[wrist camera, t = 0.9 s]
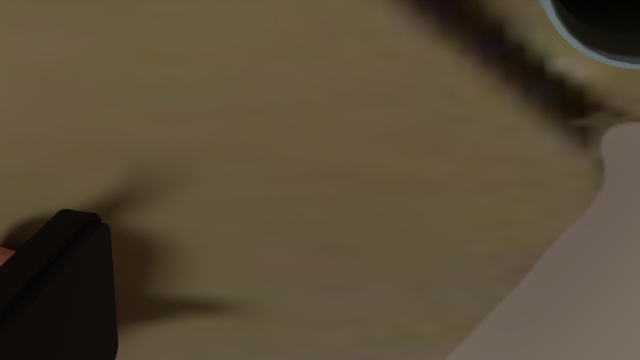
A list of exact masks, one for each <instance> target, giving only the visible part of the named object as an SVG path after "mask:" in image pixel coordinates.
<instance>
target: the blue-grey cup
mask: <svg viewBox="0 0 640 360" xmlns="http://www.w3.org/2000/svg"><path fill="white" fill-rule="evenodd" d="M539 2H540V3H541V6H542V8H543V9H544V10H545V12H546V13H547V15H548V17H549V18H550V20H551V22H552V23H553V25H554V26H555V28H556V29H557V31H558V32H559V33H560V34H561V35H562V37H563V38H564V39H565V40H566V41H567V42H568V43H569V44H571V45H572V46H573V47H574V48H576V49H577V50H578V51H579V52H581V53H583V54H585V55H587V56H588V57H590V58H592V59H594V60H597V61H600V62H603V63H606V64H608V65H611V66H616V67H622V68H628V69H640V0H539Z"/></svg>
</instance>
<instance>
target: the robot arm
mask: <svg viewBox="0 0 640 360" xmlns="http://www.w3.org/2000/svg"><path fill="white" fill-rule="evenodd" d="M117 349H118V337H117V322H116V307H115V292H114V277H113V262H112V247H111V232H110V227H109V225H108V224H106V223H101V219H100V217H99V215H98V214H96V213H90V212H83V211H76V210H69V209H62V210H60V211H59V212H58V213H57V214H55V215H54V216H53V217H52V218H51V219H50V220H49V221H48V222H47V223H46V224H45V225H44V226H43V227H42V228H41V229H39V230H38V231H37V232H36V233H35V234H34V235H33V236H32V237H31V238H30V239H29V240H28V241H27V242H26V243H25V244H23V245H22V246H21V247H20V248H19V249H18V250H17V251H16V252H15V253H14V254H13V255H12V256H11V257H10V258H9V259H7V260H6V261H5V262H4V263H3V264H2V265H1V266H0V360H115V358H116V355H117Z"/></svg>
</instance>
